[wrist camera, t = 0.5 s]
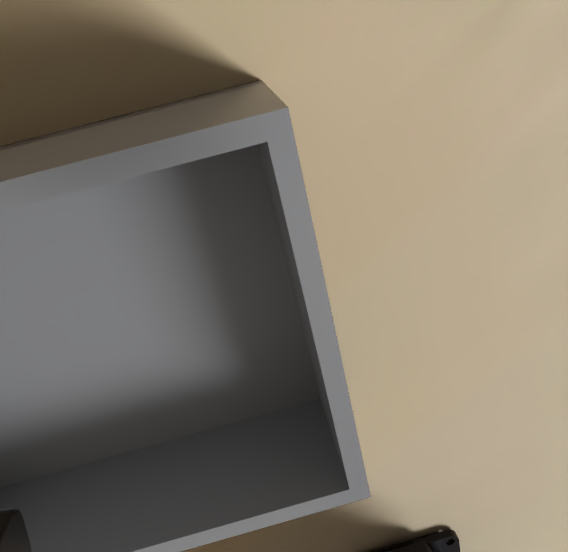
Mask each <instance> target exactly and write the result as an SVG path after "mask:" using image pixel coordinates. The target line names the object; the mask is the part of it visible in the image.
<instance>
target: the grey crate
mask: <svg viewBox="0 0 568 552" xmlns="http://www.w3.org/2000/svg"><path fill="white" fill-rule="evenodd" d="M369 497H371V496H370V491H369V487H368V482H367V477H366V472H365V468H364V463H363V458H362V454H361V449H360V444H359V439H358V435H357V430H356V425H355V421H354V416H353V411H352V406H351V402H350V397H349V392H348V388H347V383H346V378H345V373H344V369H343V364H342V359H341V355H340V350H339V345H338V340H337V336H336V331H335V326H334V322H333V317H332V312H331V307H330V303H329V298H328V293H327V289H326V284H325V279H324V274H323V270H322V265H321V260H320V256H319V251H318V246H317V241H316V237H315V232H314V227H313V223H312V218H311V213H310V208H309V204H308V199H307V194H306V190H305V185H304V180H303V175H302V171H301V166H300V161H299V157H298V152H297V147H296V142H295V138H294V133H293V128H292V124H291V119H290V114H289V109H288V107H287V106H286V105H285V104H284V103H283V102H282V101H281V100H280V99H279V98H278V97H277V96H276V95H275V94H274V93H273V91H272V90H271V89H270V88H269V87H268V86H267V85H266V84H265V83H264V82H263V81H262V80H258V81H254V82H250V83H246V84H243V85H239V86H235V87H231V88H227V89H223V90H219V91H215V92H212V93H208V94H204V95H200V96H196V97H192V98H188V99H184V100H180V101H177V102H173V103H169V104H165V105H161V106H157V107H153V108H149V109H145V110H142V111H138V112H134V113H130V114H126V115H122V116H118V117H114V118H110V119H107V120H103V121H99V122H95V123H91V124H87V125H83V126H79V127H75V128H72V129H68V130H64V131H60V132H56V133H52V134H48V135H44V136H40V137H37V138H33V139H29V140H25V141H21V142H17V143H13V144H9V145H5V146H2V147H0V509H7V508H17V509H19V510H20V511H21V513H22V516H23V519H24V523H25V526H26V530H27V533H28V537H29V541H30V544H31V550H32V552H181V551H185V550H188V549H192V548H195V547H199V546H202V545H206V544H209V543H213V542H216V541H220V540H223V539H226V538H230V537H233V536H237V535H240V534H244V533H247V532H251V531H254V530H258V529H261V528H265V527H268V526H272V525H275V524H279V523H282V522H286V521H289V520H293V519H296V518H300V517H303V516H307V515H310V514H314V513H317V512H321V511H324V510H327V509H331V508H334V507H338V506H341V505H345V504H348V503H352V502H355V501H359V500H362V499H366V498H369Z"/></svg>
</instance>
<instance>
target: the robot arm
mask: <svg viewBox="0 0 568 552" xmlns="http://www.w3.org/2000/svg"><path fill="white" fill-rule="evenodd" d="M0 552H32V550H31V544H30V541H29V537H28V533H27V530H26V526H25V523H24V519H23V516H22V513H21V511H20V510H19V509H17V508H7V509H0ZM374 552H460V545H459V539H458V537H457V535H456V533H455V531H453V530H447V531H443V532H440V533H436V534H433V535H429V536H426V537H423V538H419V539H416V540H412V541H409V542H405V543H402V544H398V545H395V546H392V547H388V548H385V549H381V550H378V551H374Z"/></svg>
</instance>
